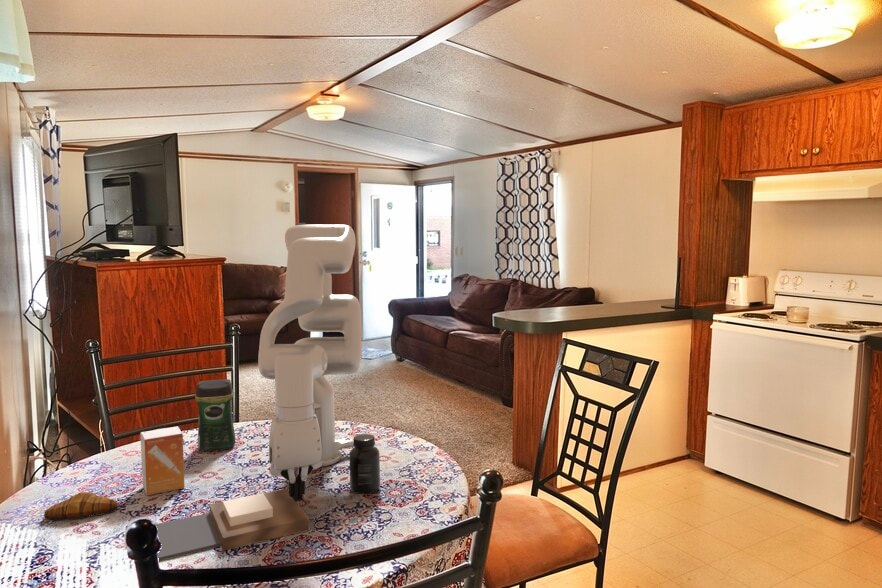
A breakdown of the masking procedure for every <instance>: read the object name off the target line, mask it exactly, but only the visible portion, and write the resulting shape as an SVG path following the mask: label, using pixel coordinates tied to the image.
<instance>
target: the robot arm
mask: <svg viewBox="0 0 882 588" xmlns="http://www.w3.org/2000/svg"><path fill="white" fill-rule="evenodd" d="M284 243H285V247H286V250H287V260H286V262H287V263H286V274H285V289H284V298H283V300H282V301H281V302H280V303H279V304H278V305H277V306H276V307H275V308H274V309H273V311H271V312H270V314H269V315H268V316H267V318H266V320H265V321H264V323H263V326H262V329H261V332H260V335H259V336H260V338H259V347H258V348H259V349H258V359H257V363H258V364H257V365H258V370H259V373H260V375H261V376H262V377H263V378H265V379H267V380H274V388H275V389H274V391H275V392H274V393H275V417H273V418H272V419H271V423H270V428H269V429H270V430H269V438H268V440H269V441H268V442H269V443H268V462H269V464H270V468H269V472H268V473H269V474H270V475H271V476H272V477H283V478H284V479H285V480H287V481H288V491H289V496H290V497H292V498H293V500H294V501H295V502H296V501H297V502H298V501H303V500H304V495H306V481H307V479H308V476H309V475H310V474H311V473H312V471H314V470H317V469H319V468H322V467H327V466H331V465H334V464H336V463H337V462H339V461H340V460H341V459H342V450H343V449H350V448H351V449H352V448H354V446H353V443H354V440H353V439H349V440H345V438H342V439H341V438H340V439H337V438H336V428H335V426H336V424H335V421H336V420H335V419H336V418H335V417H336V416H335V391H334V388H333V386H332V384H331V382H329V380H328V379H327V378H326V376H329V375H330V376H331V375H332V376H333V375H334V376H335V375H336V376H337V375H341V376H343V375H355V374H357V373H358V372H359V371H360V369H361V367H362V360H363V355H362V353H363V349H362V347H363V343H362V341H363V340H362V337H363V335H362V332H363V331H362V308H361V304H360V301H359V299H358V298H357V297H356V296H355V295H352V294H333V292H332V291H333V289H332V288H333V286H332V285H333V281H332V279H333V277H332V274H346V273H347V272H349V271H350V269H351V267H352V264H353V259H354V255H355V250H356V244H357V243H356V234H355V231H354V230H353V228H352V227H351V226H350V225H347V224H317V223H316V224H314V223H313V224H310V223H309V224H308V223H307V224H298V225H293V226H289V227H288V228H287V229H286V231H285V234H284ZM295 319H298V321H297V322H298V326H299V327H300V328H301V330H303V331H306V332H317V333H324V332H325V333H330V332H331V333H332V332H333V333H335V332H336V333H337V332H339V333H342V334H343V336H332V337H331V336H329V337H328V336H320V337H319V336H315V337H314V336H312V337H305V338H301V339H299V340H296V341H295V342H294V343H276V344H275V341H276V337H277V335H278V333H279V332H280V330H281V329H282V328H283V327H285V325H287V324H289V323H290V322H291V321H293V320H295ZM294 469H297V474H296V476H295V470H294Z"/></svg>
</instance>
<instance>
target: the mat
mask: <svg viewBox="0 0 882 588" xmlns="http://www.w3.org/2000/svg"><path fill="white" fill-rule="evenodd" d="M155 524H156V523H155ZM156 526H157V528H158V532H159V533H158V537H159V540H160V542H161V544H162V549H161V551H160V552H159V554H158V558H159V561H158V562H160V561H163V560H168V559H172V558H177V557H182V556H184V555H189V554H194V553H197V552H198V553H199V552H202V551H205V550H206V551H207V550H211V549H215V548H219V547H222V543H221V540H220V537H219V535H218V532H217V530H216V527H215V525H214V522H213V520H212V517H211V515H210V512H208V513H203V514H198V515H192V516H188V517H183V518H180V519H174V520H169V521H165V522H160V523H157V524H156Z"/></svg>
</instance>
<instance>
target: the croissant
mask: <svg viewBox="0 0 882 588" xmlns="http://www.w3.org/2000/svg"><path fill="white" fill-rule="evenodd" d="M118 505H119V504H118V502H117V501H116V500H114V499H112V498H109V497H105V496H103V495H97V494H95V493H94V492H87V491H86V492H85V491H82V492H79V493H76V494H74V495H72V496H70V497H69V498H68V499H64V500H62V501H60V502H58V503H56V504H54V505H51V506H50V507H48V508H47V509H46V510H44V513H43V515H44V516H43V517H44V519H45V520H50V521H55V520H56V521H59V520H77V519H78V520H79V519H80V520H81V519H84V518H89V517H93V516H94V517H95V516H101V515H105V514H109V513H113V512H114V511H117V510H118V507H119V506H118Z"/></svg>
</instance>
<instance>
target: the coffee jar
mask: <svg viewBox="0 0 882 588" xmlns="http://www.w3.org/2000/svg"><path fill="white" fill-rule="evenodd" d="M195 390H196V391H195V401H196V403H197V406H198V407H197V409H198V428H197V429H198V430H197V431H198V432H197V448H198V450H200V451H202V452H216V450H217V451H222V450H223V451H224V450H228V449H231V448H233V447H234V446H235V445H236V434H235V433H236V432H235V427H234V421H233V415H232V412H233V411H232V399H233V397H234V389H233V385H232V381H231V379H230V378H229V379H228V378H226V379H224V378H223V379H210V380H201V381H198V383H197V384H196V388H195Z"/></svg>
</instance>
